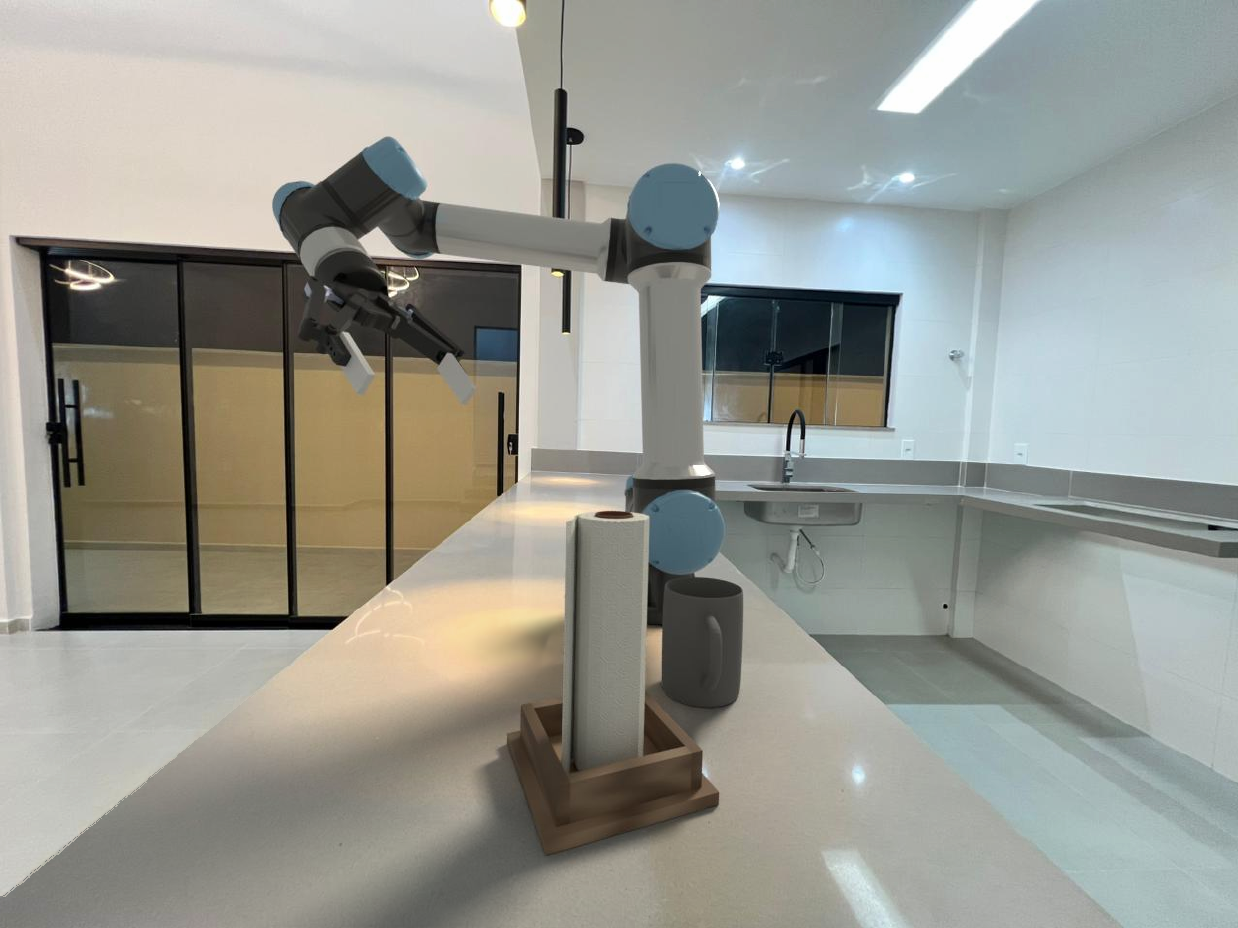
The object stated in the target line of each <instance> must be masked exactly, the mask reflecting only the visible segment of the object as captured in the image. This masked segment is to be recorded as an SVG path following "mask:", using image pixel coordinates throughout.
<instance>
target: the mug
mask: <svg viewBox="0 0 1238 928" xmlns="http://www.w3.org/2000/svg"><path fill="white" fill-rule="evenodd" d="M661 625H662V631H661V633H662V634H661V686H662V689H663V692H664V693H665V694H666V695H667V696H668V697H669V698H671V699H673V700H674V701H676V702H678V703H681V704H683V705H687V706H691V707H697V708H707V709H708V708H709V709H711V708H718V707H719V708H721V707H725V706H727V705H730V704H732V703H733V702H735V701H736V700H737V698H738V697H739V695H740V691H741V678H742V660H743V638H744V637H743V636H744V635H743V633H744V632H743V630H744V591H743V588H742V587H741V586H740V585H738V584H736V583H734V582H731V581H728V580H724V579H720V578H713V577H704V576H695V577H684V578H677V579H673V580H670V581H668V582H667V583H666V584H665V589H664V601H663V624H661Z"/></svg>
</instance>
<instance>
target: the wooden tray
mask: <svg viewBox="0 0 1238 928" xmlns="http://www.w3.org/2000/svg"><path fill="white" fill-rule="evenodd" d="M562 718H563V697H558V698H551V699H546V700H541V701H535V702H528V703H524V704H520V719H519V720H520V725H519V726H520V727H519V728H520V729H519V730H517V731H511V732H507V733H506V745H507V747H508V751H509V753H510V756H511V759H512V760H511V761H512V763H513V764H514V767H515V771H516V774H517V776H518V779H519V783H520V784H521V788H522V791H523V794H524V796H525V799H526V803H527V805H528V808H529V811H530V814H531V816H532V817H531V818H532V820H533V823H534V826H535V828H536V829H535V830H537V835H538V837H539V840H540V842H541V846H542V849H543V851H544V852H543V853H544V855H545V856H549V855H553V854H555V853H558V852H562V851H563V852H564V851H566V850H570V849H572V848H575V847H580V846H582V845H583V846H584V845H586V844H589V843H593V842H597V841H599V840H603V839H606V838H609V837H614V836H617V835H620V834H623V833H626V832H630V831H633V830H637V829H640V828H643V827H647V826H649V825H654V824H657V823H661V822H663V821H667V820H671V819H674V818H677V817H680V816H684V815H687V814H691V813H695V812H697V811H701V810H704V809H708V808H710V807H711V808H712V807H714V806H718V805H720V791H719V790H718V789H717V788H716V787H715V785H714V784H713V783H712V782H711V781H710V780H709V778H708V777H706V775H705V774H704V773H703V758H704V757H703V754H704V753H703V751H704V750H703V749H702V748H701V747H700V746H699V745H698V744H697V743H696V742H695V741H694V740H693V739H692V738H691V737H690V736H689V734H688V733H687V732H686V731H684V729H683V728H682V727H681V726H680V725H679V724H678V723H677V722H676V721H675V720H674V719H673V718H672V716H670V714H669V713H667V712H666V710H664V708H663V707H661V706H660V705H659V703H658V702H657V701H656V700H655V699H654V697H652V696H651V695H650V694H649V693H648V692H647V691H646V690H645V705H644V741H643V756H642V757H638V758H634V759H629V760H625V761H621V762H617V763H612V764H608V765H604V766H600V767H596V768H591V769H587V770H583V771H579V770H577V767H576V765H575V763H574V761H573V758H572V760H571V762H570V774H566V773H565V770H564V768H563V766H562Z"/></svg>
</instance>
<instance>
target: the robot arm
mask: <svg viewBox="0 0 1238 928" xmlns="http://www.w3.org/2000/svg"><path fill="white" fill-rule="evenodd" d="M636 181H637V182H636V183H635V185H634V187H633V189H632V190H631V192H630V195H629V197H628V200H627V201H628V202H627V205H626V206H627V207H626V216H625V218H616V217H615V218H614V217H608V218H607V219H606V220H604V221H603V222H601V223H599V222H592V221H584V220H576V219H569V218H561V217H553V216H545V215H538V214H531V213H524V212H523V213H522V212H514V211H507V210H499V209H491V208H485V207H484V208H483V207H475V206H468V205H463V204H462V205H461V204H452V203H446V202H445V203H444V202H437V201H430V200H422V199H421V198H420V197H421V195H422V194H424V193H425V191H427V190H426V189H427V187H428V184H427V183H428V182H427V180H426V178H425V177H424V175H423V174H422V172H421V171H420V169H419V167H418V166H417V165H416V163H415V162H414V160H413V159H412V158H411V156H410V154H409V153H408V152H407V151H406V150H405V148H404V146H402V144H401V143H400V141H398V140H397V139H396V138H394V137H392V136H385V137H383V138H381V139H379V140H378V141H376V142H375V143H372V144H371V145H369V146H366V147H364V148H363V149H362V151H360V152H359V153H357V154H356V155H355V156H354V157H352V158H350V159H349V160H348V161H347V162H345V163H344V164H342V166H340V167H339V168H338V169H336V170H335V171H334V172H332V173H331V174H330V175H328V176H326V178H324V179H323V180H321V181H320V180H319V182H317V183H312V182H308V181H305V180H299V181H291V182H286V183H285V184H283V185H281V186H280V187H279V188H278V189H277V190H276V192H275V193H274V195H273V198H272V200H271V201H272V202H271V206H272V207H271V208H272V213H273V216H274V218H275V220H276V222H277V224H278V226H279V230H280V231H281V234H282V236H283V237H284V238H285V240H286V241H287V242H288V243H289V245H290V247H292V249H293V251H294V253H295V255H296V256H297V257H298V258H299V261H300V262H301V264H302V265H303V267H304V268H305V270H306V271H307V273H308V274H309V277H308V280H307V282H306V283H305V286H304V288H303V290H302V293H301V296H302V299H303V301H304V303H305V306H304V309H303V312H302V313H303V314H302V317H301V321H300V323H299V328H298V333H297V337H298V338H299V340H301V341H303V342H311V341H312V340H313V341H316V342H317V343H316V345H315V348H314V350H315V351H316V352H317V353H319V354H321V355H329V358H330V359H331V361H332V363H334V364H335V365H336V366H339V367H340V368H341V370H342V372H343V373H344V375H345V376H346V378H347V380H348V381H349V383H350V385H351V386H352V389H353V390H354V392H355V394H356V395H364V396H365V393H366V391H367V390H368V389H369V387H370V385H371V384H372V382H373V381H374V378H375V377H376V374H375V372H374V371H373V369H372V368H371V366H370V364H369V363H368V361H367V360H366V358H365V357H364V354H363V353H362V351H361V349H360V348H359V347H358V345H357V343H356V341H354V338H353V337H352V336H351V334H350V333H349V332H348V331H347V329H349V328H351V325H353V323H356V324H358V325H360V326H361V327H363V328H369V329H370V328H373V329H375V330H379V331H380V332H381V331H382V332H383V333H385V334H386V335H388V336H389V337H391V338H392V339H395V340H396V339H400V340H401V341H403V342H405V343H406V344H407V345H409V346H410V347H411V348H413V349H414V350H416V351H418V353H420V354H422V355H424V357H426V358H428V360H430V361H432V362H433V363H435V364H436V365H438V367H437V368H436V369H437V370H438V373H439V374H440V376H442V378H443V380H444V381H445V383H446V384H447V386H448V387H449V388H450V390H451V391H452V394H454V396H455V397H456V398H457V400H458V401H459V402H460V404H461V405H467V404H468V403H469V401H470V400H471V399H472V397H473V396H474V394H475V393H476V392H477V390H478V388H477V386H476V385H475V384H474V381H472V379H471V378H470V377H469V375H468V373H467V372H466V370H465V368H464V367H463V366H462V365H461V363H460V362H461V360H462V358H463V357H464V355H465V354H466V352H465V350H463V349H462V347H460V346H459V345H458V344H456V343H455V341H453V340H452V339H451V338H449V337H448V335H446V334H445V333H444V332H443V331H442V330H440V329H439V328H438V327H437V326H435V325H434V323H432V322H431V321H429V319H427V318H426V317H425V316H424V315H423V314H422V313H421V312H420V310H419V309H418V307H416V306H415V305H414V304H412V303H409V302H408V303H407V304H406V306H405V307H402V306H401V307H400V306H399V305H398V304H397V303H396V302H395V301H394V300H393V299H391V297H390V296H389V290H388V282H387V280H386V278H385V276H384V275H383V274H382V272H381V270H380V269H379V267H378V266H377V264H376V263H375V261H373V259H372V257H371V256H370V254H369V252H368V251H367V250H366V249H365V247H364V246H363V244H362V243H361V241H360V239H361V238H363V237H364V236H366V235H368V234H369V233H370V232H372V231H374V230H375V229H376V228H378V229H379V230H380V231H381V232H382V234H384V235H385V237H386V238H387V239H388V240H389V241H390V243H391V244H392V245H393V246H394V247H395V249H397V250H398V251H399V252H401V253H403V254H404V255H406V256H407V257H408V258H409V257H410V258H412V259H417V260H422V259H427V258H430V257H431V256H433V255H434V254H439V255H447V256H452V257H453V256H454V257H462V258H471V259H477V260H485V261H486V260H487V261H494V262H501V263H507V264H508V263H510V264H516V265H517V264H518V265H523V266H525V265H526V266H534V267H541V268H548V269H549V268H550V269H558V270H565V271H573V272H580V273H581V272H582V273H588V274H595V275H597V276H598V277H599V278H600V279H601V282H608V283H614V284H615V283H617V284H623V285H630V286H631V287H632V288H633V289H634V290H635V291H637V293H638V309H639V310H638V314H639V316H638V317H639V319H638V320H639V350H640V351H639V353H640V355H639V357H640V359H639V360H640V389H641V390H640V392H641V393H640V394H641V397H640V398H641V430H642V431H641V435H642V436H641V438H642V463H641V465H640V466H639V468H637V470H636V471H635V472H634V473H633V474H631V475H629V476H628V478H627V479H626V480H625V481H626V482H625V483H626V484H625V489H624V496H625V505H624V506H625V509H624V512H633V513H639V514H644V515H647V516H649V519H650V522H649V558H648V595H647V625H648V624H649V625H663V601H664V589H665V584H666V583H667V582H668V581H670V580H673V579H677V578H684V577H696V573H697V572H699V571H701V570H703V569H705V568H706V567H707V566H709V565H710V564H711V563H712V562H713V561H714V560H715V559H716V558H717V557H718V555H719V554H720V552H721V549H722V548H723V545H724V542H725V536H726V524H725V520H724V516H723V515H722V512H721V509H720V507H719V506H718V505H717V503H716V495H717V494H716V472H714V470H713V469H711V468H710V467H709V465H707V464H706V462H705V455H704V453H705V452H704V451H705V450H704V449H705V448H704V445H705V443H704V405H703V403H704V402H703V399H704V397H703V351H702V350H703V348H702V346H703V345H702V341H703V340H702V301H701V300H702V299H701V297H702V296H701V295H702V294H701V290H702V288H704V287H705V285H706V283H708V282H709V281H710V280H711V278H712V236H713V234H714V232H715V231H716V228H717V226H718V221H719V217H720V200H719V196H718V193H717V191H716V189H715V187H714V185H713V183H712V182H711V181H710V180H709V178H707V177H706V176H705V175H704V174H703V173H701V171H699V170H698V169H696V168H694V167H692V166H690V165H686V164H684V163H675V162H670V163H662V164H659V165H656V166H654V167H652V168H651V169H649V170H647V171H646V172H644V173H643V175H642V176H641V177H640V178H639V179H638V180H636ZM324 303H326V304H327V306H328V307H329V308H330V309H331V310H332V311H333V312H335V313H336V314H335V315H334V316H333V317H332V318H331V319H330V321H328V323H327V324H326V325H325V324H323V323H320V322H321V318H322V313H323V307H324V305H325V304H324ZM397 318H399V322H398V323H397V326H396V327H395V328H392V326H393V324H394V322H396V319H397Z"/></svg>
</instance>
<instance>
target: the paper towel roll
mask: <svg viewBox="0 0 1238 928" xmlns="http://www.w3.org/2000/svg"><path fill="white" fill-rule="evenodd" d="M649 522H650V519H649V516H647V515H644V514H639V513H633V512H625V510H624V511H621V510H603V511H602V510H601V511H599V510H598V511H589V512H584V513H583V512H582V513H580V514H577V515H574V517H573V519H571V520H567V521H566V524H565V525H566V527H565V529H566V530H565V531H566V532H565V538H566V539H565V570H564V572H565V573H564V574H565V575H564V576H565V577H564V578H565V579H564V580H565V581H564V582H565V584H564V623H563V625H564V628H563V629H564V630H563V633H564V634H563V674H562V676H563V677H562V679H563V680H562V681H563V682H562V683H563V684H562V698H563V718H562V766H563V768H564V770H565V773H566V774H570V762H571V760H572V758H573V761H574V763H575V765H576V767H577V770H579V771H583V770H587V769H591V768H596V767H600V766H604V765H608V764H612V763H617V762H621V761H625V760H629V759H634V758H638V757H642V756H643V741H644V705H645V691H646V665H647V664H646V662H647V661H646V660H647V630H648V629H647V628H648V627H647V626H648V623H647V595H648V558H649Z"/></svg>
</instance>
